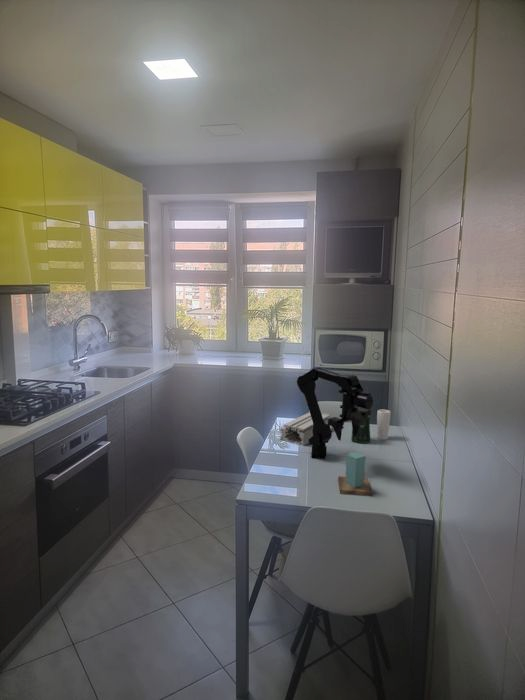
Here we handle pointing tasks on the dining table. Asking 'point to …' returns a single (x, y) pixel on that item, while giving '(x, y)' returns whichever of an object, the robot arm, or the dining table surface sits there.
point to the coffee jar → (363, 428)
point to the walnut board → (349, 489)
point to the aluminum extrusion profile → (300, 429)
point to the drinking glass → (383, 423)
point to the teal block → (355, 469)
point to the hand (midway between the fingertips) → (347, 438)
